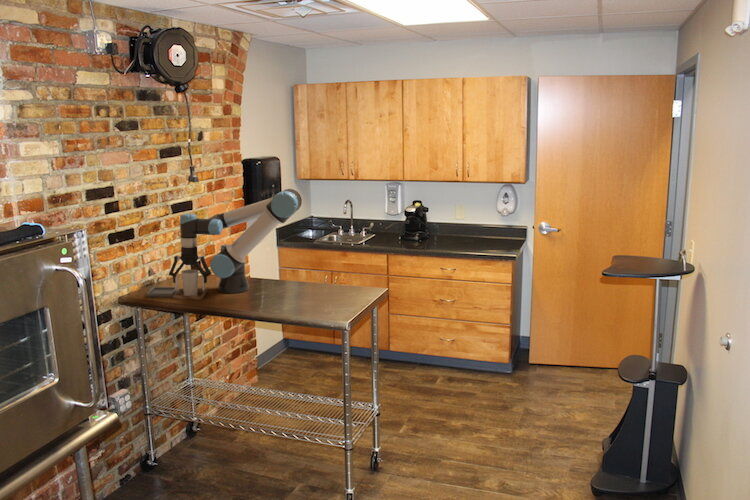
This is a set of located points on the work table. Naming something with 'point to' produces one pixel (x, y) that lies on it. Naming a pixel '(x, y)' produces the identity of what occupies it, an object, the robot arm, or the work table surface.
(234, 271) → the robot arm
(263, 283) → the work table surface
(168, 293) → the tray
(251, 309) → the work table surface
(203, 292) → the holder frame
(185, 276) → the cup
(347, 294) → the work table surface
